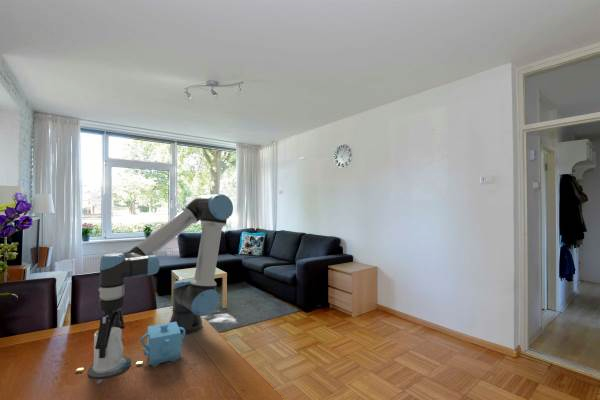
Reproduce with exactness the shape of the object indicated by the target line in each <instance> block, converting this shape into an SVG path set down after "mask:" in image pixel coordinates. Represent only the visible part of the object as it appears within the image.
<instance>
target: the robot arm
mask: <svg viewBox="0 0 600 400" xmlns="http://www.w3.org/2000/svg"><path fill="white" fill-rule="evenodd" d="M233 212H234V204H233V202H232V199H230V197H229V196H227V195H225V194H224V193H223V194H222V193H208V194H207V193H205V194H201V195H199V196H196V197H195V198H194V199H192V200H191V201H190V202H188V203H187V204H185V206H183V207H182V208H181V211H180V212H179V213H177V214H176V215H175V216H174V217H172V218H171V219H169V221H167V222H166V223H165V224H163V225H162V226H160V227H159V228H158V229H156V230H155V231H154V232H152V233H151V234H150V235H149V236H147V237H146V238H145V239H143V240H142V241H141V242H140V243H138V244H137V245H136V246H134V247H132V248H131V249H130V250H126V251H123V252H120V253H119V252H118V253H115V252H114V253H107V254H104V255H102V256H101V257H100V263H99V288H98V289H97V290H98V292H99V298H100V299H99V300H98V302H99V303H98V305H99V307H98V309H99V311H101V312H104V314H103V316H101V317H100V319H99V327H98V331H99V332H98V337H97V342H96V346H95V349H99V351H98V367H106V366H108V346H107V345H108V341H109V336H110V332H111V328H112V327H118V328H120V329H121V342H123V340H122V339H123V337H122V336H123V330H124V329H125V326H126V325H125V321H124V314H123V310H122V308H123V307H124V305H125V296H124V295H125V280H126V279H133V278H138V277H145V276H151V275H155V274H157V273H158V272H159V270H160V259H159V257H158V256H157V255H156V253H157V252H159V251H160V250H161V249H163V248H164V247H165V246H166V245H167V244H169V243H170V242H171V241H173V240H174V239H175V238H176V237H178V236H179V235H180V234H181V233H182V232H184V230H186V229H187V228H189V227H190V226H191V225H192V224H197V223H198V222H200V223H201V224H202V228H201V229H202V230H201V235H200V240H199V247H198V254H197V259H196V265H195V266H196V267H195V271H194V276H193V278H191V277H190V278H185V279H184V278H183V279H180V280H176V281H174V282H173V285H172V314H171V317H170V319H169V322H168V323H171V322H177V325H178V327H182V328H184V329H185V332H186V333H185V335H189V334H192V333H196V332H199V330H201V329H202V328H203V320H202V317H205V316H208V315H211V314H212V313H213V312H214V311H215V310H217V307H218V306H219V302H220V296H219V294H218V291H217V282H216V281H215V276H216V275H215V274H216V269H217V262H218V257H219V250H220V242H221V237H222V232H223V231H222V230H223V228H224V227H225V226H226V225H227V222H228V221H227V220H228V219H229V218H230V217H231V216H232V215H233ZM180 332H181V336H182V334H183V331H182V330H180Z"/></svg>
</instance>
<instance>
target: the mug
mask: <svg viewBox="0 0 600 400" xmlns="http://www.w3.org/2000/svg"><path fill="white" fill-rule="evenodd" d="M98 332H99V330H97V331H96V332H95V333H94V335H93V340H94V341H93V364H92V365H93V370H94V371H98V372H102V371H107V370H111V369H113V368H115V367H117V366H118V365H119V364H120V363H121V359H120V358H121V356H123V354H124V345H123V343H122V342H123V341H122V342H121V329H120V328H118V327H112V328H111V332H110V336H109V341H108V345H107V346H108V366H106V367H98V351H99V349H95V346H96V342H97V337H98Z"/></svg>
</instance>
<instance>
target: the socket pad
mask: <svg viewBox="0 0 600 400" xmlns="http://www.w3.org/2000/svg"><path fill="white" fill-rule="evenodd" d="M120 359H121V363H120V364H119V365H118V366H117V367H115V368H113V369H111V370H107V371H102V372H98V371H94V370H93V364H91V365H90V366H89V368H88V371H87V375H88V376H89V378H91V379H98V380H97V382H96V383H95V386H102V384H103V383H104V379H106V378H107V379H108V378H112V377H115V376H117V375H120V374H122V373H125V372H126V371H127V370H128V369H129V368H130V367H131V365H132V359H131V358H130V357H129V356H126V355H122V356H121V358H120ZM143 364H144V361H143V360H142V361H141V360H140V361H136V363H135V366H136V367H139V366H140V367H141V366H142V365H143ZM84 371H85V367H78V368H77V369H76V370H75V373H76V374H78V373H84Z"/></svg>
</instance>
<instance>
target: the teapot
mask: <svg viewBox="0 0 600 400" xmlns="http://www.w3.org/2000/svg"><path fill="white" fill-rule="evenodd" d="M180 330H182V331H183V334H182V335H181V332H180ZM185 333H186V332H185V329H184V328H182V327H178V325H177V322H171V323H169V322H166V323H161V324H156V325H155V324H154V325H149V326H147V333H145V334H144V335H143V336H142V337H141V339H140V342H141V345H142V346H143V347H144V348H145V349H144V350H143V355H144V356H147V357H148V363H149V366H151V367H158V366H159V365H160V364H162V363H166V362H170V363H173V362H174V361H175V362H177V361H178V359H181V358H182V357H181V356H182V355H181V354H182V353H181V352H182V351H181V350H182V348H183V346H184V343H183V342H182V340H183V339H184V338H185V336H186V334H185ZM146 338H147V343H146V342H145V339H146ZM176 360H177V361H176Z"/></svg>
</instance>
